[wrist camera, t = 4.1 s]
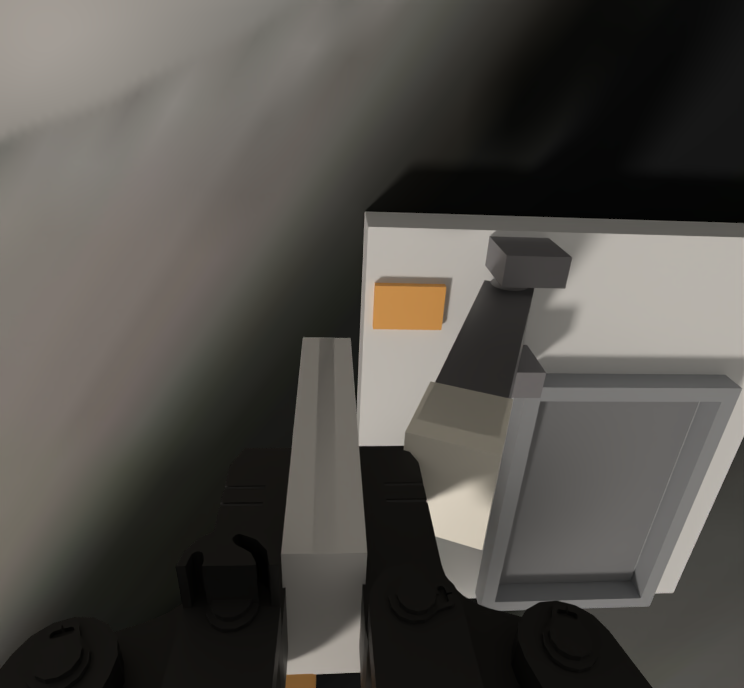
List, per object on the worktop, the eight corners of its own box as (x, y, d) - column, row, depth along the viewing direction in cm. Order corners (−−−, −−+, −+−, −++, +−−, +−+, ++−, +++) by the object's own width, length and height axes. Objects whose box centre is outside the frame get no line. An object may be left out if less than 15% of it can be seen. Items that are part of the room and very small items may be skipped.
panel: (350, 566, 27) (353, 641, 24) (364, 211, 19) (372, 245, 16) (652, 560, 29) (697, 630, 25) (788, 224, 20) (884, 258, 17)
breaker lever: (474, 337, 19) (396, 524, 11) (484, 274, 18) (405, 431, 10) (526, 346, 19) (482, 550, 11) (538, 282, 18) (501, 455, 10)
